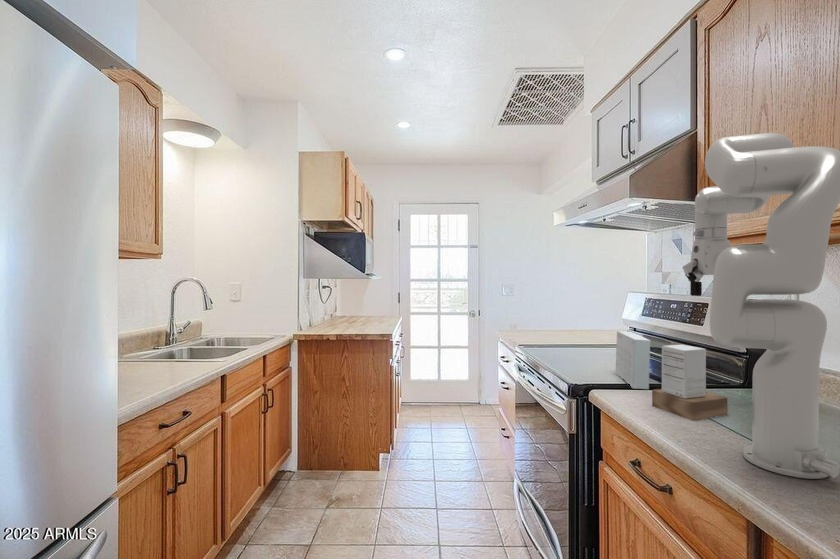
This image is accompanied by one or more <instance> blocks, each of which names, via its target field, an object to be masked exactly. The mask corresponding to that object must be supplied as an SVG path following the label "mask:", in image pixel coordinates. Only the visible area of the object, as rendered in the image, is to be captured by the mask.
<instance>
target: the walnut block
mask: <svg viewBox="0 0 840 559" xmlns="http://www.w3.org/2000/svg"><path fill="white" fill-rule="evenodd" d="M651 396H652V397H651V401H652V404H651V405H652V407H654V408H657V409H659V410H663V411H664V412H667V413H671V414H674V415H676V416H679V417H680V418H681V417H682V418H684V419H687V420H690V421H698V420H705V419H710V418H709V417H713V418H717V417H716V416H719V417H724V415H725V416H728V397H725V396H722V395H719V394H715V393H711V392H709V391H708V392H707V391H706V396H703V397H694V398H687V399H684V398H681V397H678V396H675V395H671V394H668V393H665V392H663V391H662V388H655V389H652V390H651Z"/></svg>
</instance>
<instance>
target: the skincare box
mask: <svg viewBox="0 0 840 559" xmlns="http://www.w3.org/2000/svg"><path fill="white" fill-rule="evenodd" d="M615 352H616V353H615V371H614V372H615V375H616V376H618V377H619V376H620V377H621V378H622V379H624V380H625V381H626V382H628V383H629V384H630V386H631V387H630V386H629V387H630V388H632V389H636V390H639V389H640V390H650V363H651V362H650V361H651V360H650V359H651V339H648V338H646V337H643V336H642V335H639V334H637V333H634V332H633V331H625V330H617V331H616V349H615ZM620 377H619V378H620ZM621 378H620V379H621ZM622 379H621V380H622ZM624 380H623V381H624ZM625 381H624V382H625ZM626 382H625V383H626Z"/></svg>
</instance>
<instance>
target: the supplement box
mask: <svg viewBox="0 0 840 559" xmlns="http://www.w3.org/2000/svg"><path fill="white" fill-rule="evenodd" d="M706 360H707V348H703V347H699V346H692V345H687V344H670V345H661V389H662V391H663V392H665V393H668V394H671V395H675V396H678V397H681V398H684V399H687V398H694V397H703V396H706V392H707V384H706V383H707V361H706Z"/></svg>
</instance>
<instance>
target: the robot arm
mask: <svg viewBox="0 0 840 559" xmlns="http://www.w3.org/2000/svg"><path fill="white" fill-rule="evenodd" d="M704 170H705V172H706V175H707V176H708V177H709V179H710V180H711V181H712V182H713V184H715V185H716V186H707V187H704V188H702V189H700V191H699V192H698V193H697V194H696V195H695V199H694V231H693V233H692V235H693V236H694V240H693V243H692V248H691V253H690V254H691V255H690V262H688V263H686V264H685V265H683V266H682V269H683V272H684V274H685V277H686V278H687V280H688V282H689V283H690V287H689V288H690V296H692V297H693V296H694V297H701V296H702V295H703V294H702V293H703V291H702V290H703V289H702V287H703V286H702V284H703V283H702V281H700V280H702V278H703V277H704V276H713V277H712V278H713V279H712V292H711V301H710V311H709V331H710V335H711V338H712V339H713V340H714V342H715V343H717V344H719V345H720V346H723V347H726V348H727V347H728V348H739V349H760V350H762V349H764V350H765V351H764V353H763V354H762V355H761V356H760V357H759V358H758V360H757V361H756V362H755V364H754V367H753V369H752V422H751V423H752V425H751V426H752V428H751V430H752V439H751V440H752V442H751V443H752V444H749V445H745V446H744V447H742V456H743V458H745V459H746V461H748V462H749V463H751V464H753V465H755V466H756V467H759V468H761V469H763V470H766V471H769V472H773V473H775V474H779V475H782V476H787V477H793V478H798V479H807V480H809V479H811V480H817V479H818V480H819V479H820V480H821V479H825V478H827V477H830V478H834V479H835V478H837V477H839V475H840V463H838V462H836V461H833V460H829V459H827V457H826V449H824V448H821V447H819V432H820V431H819V429H820V428H819V422H820V421H819V416H820V415H819V414H820V411H819V409H820V408H819V407H820V406H819V404H820V403H819V402H820V400H819V399H820V398H819V392H820V391H819V390H820V363H821V355H822V350H823V346H824V342H825V338H826V335H827V330H828V329H827V327H828V326H827V324H828V322H827V318H826V315H825V313H824V311H823V310H822V309H821V308H820V307H818V306H817V305H815V304H813V303H811V302H808V301H803V300H797V299H781V298H780V299H765V298H764V299H752V298H751V299H748V297H749V296H753V295H760V296H763V295H764V296H765V295H767V296H768V295H769V296H770V295H771V296H772V295H773V296H774V295H777V296H783V295H784V296H785V295H787V296H788V295H789V296H790V295H805V294H809V293H812V292H813V293H814V291H816V290H817V289H818V288H819V286H820V285H821V283H822V279H823V277H824V276H823V275H824V270H825V265H826V258H827V252H828V247H829V246H828V245H829V239H830V234H831V233H830V232H831V224H832V221H833V217H834V215H835V212H836V209H837V208H838V206H839V204H840V150H839V149H836V148H834V147H830V146H829V147H828V146H815V145H814V146H809V145H808V146H796V147H795V146H794V143H793V142H792V140H791V139H790V138H789V137H788V136H786V135H784V134H781V133H777V132H762V133H751V134H742V135H741V134H740V135H733V136H725V137H724V136H723V137H721V138H718V139H717V140H716V141H714V142H713V143H712V144H711V145H710V146H709V148H708V150H707V151H706V154H705V159H704ZM777 195H790V196H788V197H787V198H786V199H784V200H783V201H782V202H781V203H780V204H779V205H778V206H777V207H776V208H775V209H774V210H773V211H772V213H771V215H770V216H769V217H768V219H767V226H766V233H765V234H766V235H765V239H764V241H763V242H762V243H761V244H760V243H759V244H738V245H731V241H730V239H728V215H731V214H732V215H733V214H735V215H736V214H738V215H739V214H749V213H754V212H756V211H758V210H759V209H761V208H762V207H763V206H764V205H765V206H766V204H767V203H768V201H769V200H770V198H771V196H777Z"/></svg>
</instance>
